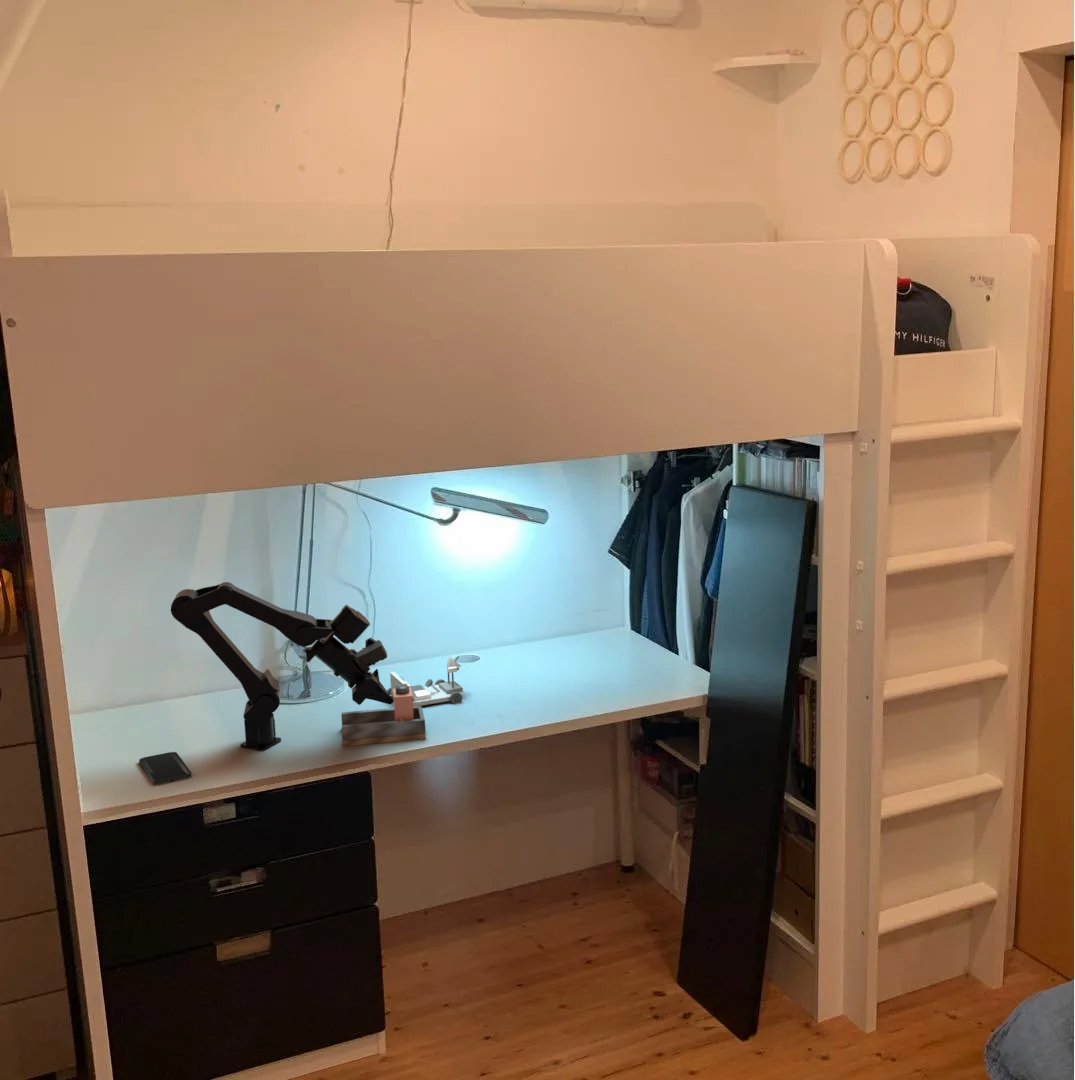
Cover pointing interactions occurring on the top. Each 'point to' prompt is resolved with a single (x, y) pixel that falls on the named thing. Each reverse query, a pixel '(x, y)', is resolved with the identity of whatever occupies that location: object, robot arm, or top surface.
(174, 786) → the top surface
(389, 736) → the track
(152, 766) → the phone
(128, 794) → the top surface
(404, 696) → the slider
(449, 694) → the toy car
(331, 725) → the top surface
